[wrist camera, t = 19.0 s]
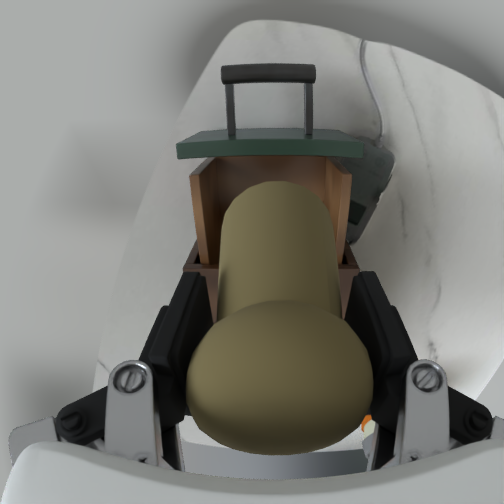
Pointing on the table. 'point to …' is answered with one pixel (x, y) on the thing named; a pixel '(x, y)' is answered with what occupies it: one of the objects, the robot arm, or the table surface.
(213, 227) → the drawer
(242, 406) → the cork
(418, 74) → the table surface
